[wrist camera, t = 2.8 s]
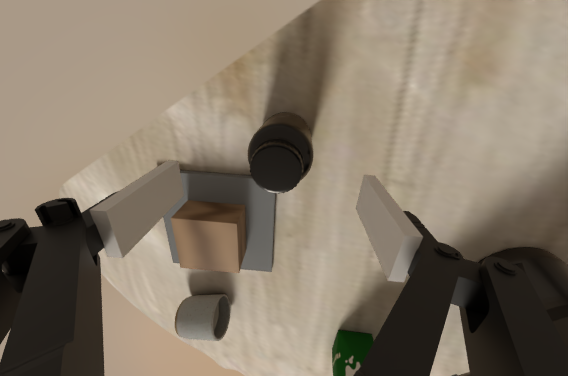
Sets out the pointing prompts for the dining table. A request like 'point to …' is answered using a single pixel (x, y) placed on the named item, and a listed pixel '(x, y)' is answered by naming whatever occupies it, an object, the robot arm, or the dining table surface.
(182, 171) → the mat
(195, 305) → the ceramic mug
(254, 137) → the supplement bottle
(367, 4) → the dining table surface
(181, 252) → the walnut block
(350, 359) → the milk carton
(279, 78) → the dining table surface
